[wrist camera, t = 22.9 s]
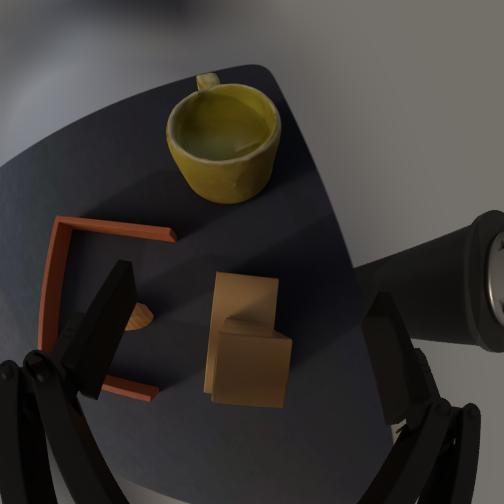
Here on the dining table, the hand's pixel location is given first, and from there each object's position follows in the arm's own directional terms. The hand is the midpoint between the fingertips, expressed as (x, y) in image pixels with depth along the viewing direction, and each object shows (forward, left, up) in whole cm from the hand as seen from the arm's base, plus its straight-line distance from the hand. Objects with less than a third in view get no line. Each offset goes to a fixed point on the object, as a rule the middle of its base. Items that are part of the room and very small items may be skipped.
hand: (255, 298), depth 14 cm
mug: (+4, -15, -12) cm, 19 cm away
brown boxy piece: (0, +3, -11) cm, 12 cm away
